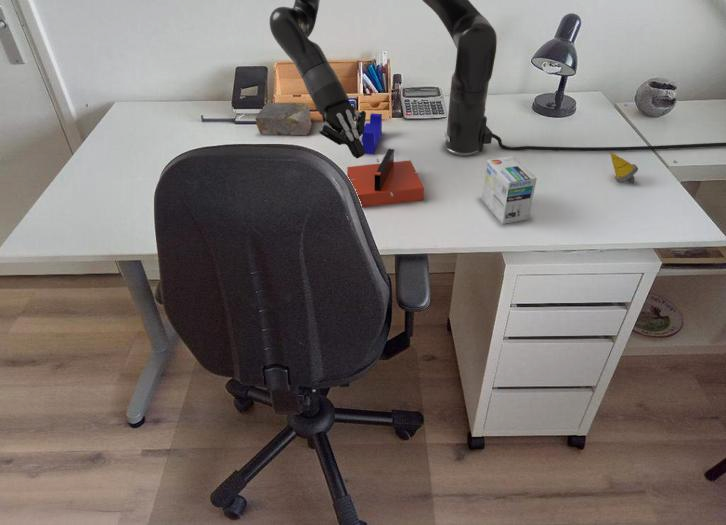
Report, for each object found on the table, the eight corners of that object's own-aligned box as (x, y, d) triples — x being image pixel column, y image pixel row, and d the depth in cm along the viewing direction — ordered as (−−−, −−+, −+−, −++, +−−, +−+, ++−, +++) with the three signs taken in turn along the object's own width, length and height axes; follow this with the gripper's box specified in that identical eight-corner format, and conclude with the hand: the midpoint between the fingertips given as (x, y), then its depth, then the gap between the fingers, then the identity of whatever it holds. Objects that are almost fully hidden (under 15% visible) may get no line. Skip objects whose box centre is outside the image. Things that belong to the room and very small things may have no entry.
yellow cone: (629, 192, 130) (605, 160, 128) (620, 189, 135) (596, 158, 133) (648, 177, 129) (624, 145, 127) (638, 174, 134) (614, 143, 132)
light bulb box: (529, 220, 121) (538, 178, 114) (501, 225, 119) (509, 183, 112) (506, 195, 129) (513, 154, 122) (480, 199, 127) (486, 159, 120)
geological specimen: (262, 102, 160) (312, 100, 158) (265, 121, 164) (314, 120, 162) (253, 116, 151) (306, 115, 150) (257, 137, 155) (308, 135, 154)
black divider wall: (388, 163, 134) (388, 147, 131) (393, 163, 134) (394, 148, 131) (374, 190, 125) (374, 174, 122) (380, 191, 124) (380, 175, 122)
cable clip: (366, 132, 155) (365, 112, 151) (381, 134, 154) (381, 114, 150) (357, 152, 146) (356, 132, 142) (373, 154, 145) (373, 133, 141)
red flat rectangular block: (410, 168, 139) (410, 155, 137) (428, 204, 126) (429, 191, 124) (343, 175, 137) (343, 162, 135) (355, 213, 124) (354, 199, 122)
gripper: (307, 89, 118) (345, 160, 118) (354, 73, 124) (390, 140, 125) (296, 104, 124) (331, 172, 125) (341, 89, 131) (374, 153, 131)
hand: (360, 156), depth 125 cm, fingers closed
